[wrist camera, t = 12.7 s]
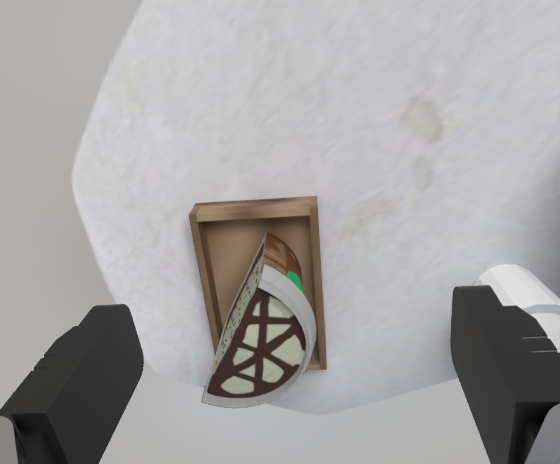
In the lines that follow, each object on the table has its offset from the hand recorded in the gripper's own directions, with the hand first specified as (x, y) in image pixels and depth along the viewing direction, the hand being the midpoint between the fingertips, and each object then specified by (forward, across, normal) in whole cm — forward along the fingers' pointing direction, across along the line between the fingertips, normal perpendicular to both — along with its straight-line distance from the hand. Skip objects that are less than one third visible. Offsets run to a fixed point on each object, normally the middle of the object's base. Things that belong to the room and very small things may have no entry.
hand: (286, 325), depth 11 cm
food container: (+26, +4, +15) cm, 30 cm away
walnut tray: (+26, +5, +15) cm, 31 cm away
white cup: (+27, -16, +17) cm, 36 cm away
